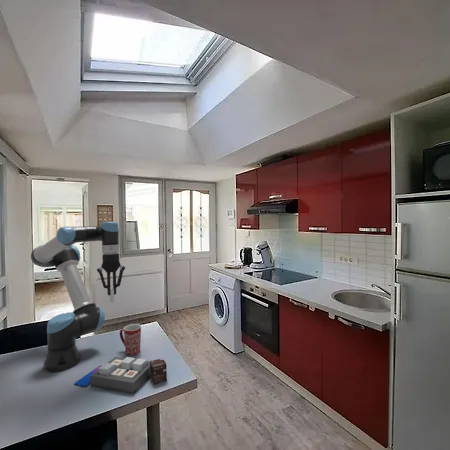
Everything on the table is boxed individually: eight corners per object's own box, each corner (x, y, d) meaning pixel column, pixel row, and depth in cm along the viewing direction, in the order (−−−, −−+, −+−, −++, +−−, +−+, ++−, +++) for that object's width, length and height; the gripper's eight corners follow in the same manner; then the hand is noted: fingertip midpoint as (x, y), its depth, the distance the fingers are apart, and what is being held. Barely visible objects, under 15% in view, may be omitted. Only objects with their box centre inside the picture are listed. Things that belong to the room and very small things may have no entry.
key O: (99, 375, 112) (98, 368, 112) (106, 369, 117) (106, 362, 117) (107, 376, 111) (107, 369, 111) (114, 370, 116) (114, 364, 116)
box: (152, 384, 111) (152, 367, 111) (150, 377, 116) (149, 361, 116) (167, 380, 114) (166, 363, 113) (163, 373, 119) (163, 357, 119)
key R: (120, 368, 117) (120, 362, 117) (126, 363, 121) (126, 357, 121) (129, 369, 116) (129, 363, 116) (135, 364, 120) (135, 358, 120)
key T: (111, 381, 111) (110, 373, 111) (117, 375, 115) (117, 368, 115) (119, 382, 110) (119, 375, 110) (126, 376, 114) (126, 369, 114)
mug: (145, 349, 142) (145, 324, 142) (133, 358, 133) (133, 331, 133) (127, 346, 147) (126, 322, 146) (115, 353, 138) (114, 328, 138)
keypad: (90, 386, 111) (89, 375, 111) (115, 366, 126) (115, 356, 126) (133, 393, 105) (133, 382, 105) (154, 371, 121) (154, 361, 121)
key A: (109, 370, 119) (109, 363, 119) (116, 365, 123) (115, 358, 123) (117, 372, 118) (117, 365, 118) (124, 366, 122) (123, 360, 122)
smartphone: (72, 383, 112) (99, 365, 126) (72, 385, 112) (100, 366, 126) (85, 387, 110) (112, 367, 124) (86, 389, 110) (112, 369, 124)
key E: (132, 370, 116) (132, 363, 116) (138, 365, 120) (138, 358, 120) (141, 371, 114) (141, 364, 114) (146, 366, 119) (146, 359, 119)
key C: (123, 383, 109) (123, 375, 109) (129, 377, 114) (129, 369, 114) (132, 384, 108) (132, 377, 108) (138, 378, 112) (138, 371, 112)
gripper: (96, 255, 122) (98, 305, 122) (126, 253, 128) (127, 301, 128) (95, 253, 128) (96, 301, 128) (123, 251, 135) (125, 297, 135)
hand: (112, 301), depth 128 cm, fingers closed
